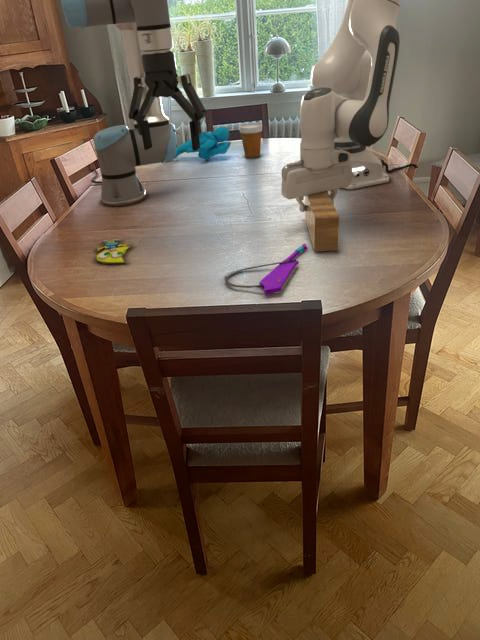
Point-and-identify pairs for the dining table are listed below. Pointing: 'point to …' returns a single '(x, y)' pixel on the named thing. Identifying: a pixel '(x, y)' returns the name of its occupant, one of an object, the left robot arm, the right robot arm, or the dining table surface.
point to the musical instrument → (275, 273)
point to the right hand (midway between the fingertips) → (316, 207)
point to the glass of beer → (251, 139)
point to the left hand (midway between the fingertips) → (172, 149)
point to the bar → (322, 221)
